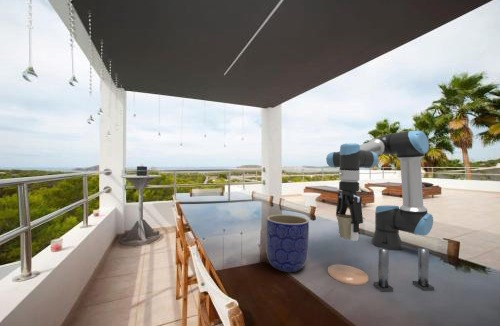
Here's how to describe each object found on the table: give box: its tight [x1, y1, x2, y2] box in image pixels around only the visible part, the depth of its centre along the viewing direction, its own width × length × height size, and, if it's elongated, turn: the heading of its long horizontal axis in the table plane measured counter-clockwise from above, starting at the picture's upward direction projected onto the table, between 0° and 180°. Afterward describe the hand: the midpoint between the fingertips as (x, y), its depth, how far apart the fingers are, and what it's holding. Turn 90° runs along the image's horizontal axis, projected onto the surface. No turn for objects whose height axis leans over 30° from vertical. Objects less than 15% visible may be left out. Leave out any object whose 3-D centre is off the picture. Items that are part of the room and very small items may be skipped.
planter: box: [265, 214, 310, 273], centre depth 95 cm, size 18×18×21 cm
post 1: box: [373, 247, 394, 293], centre depth 79 cm, size 4×4×14 cm
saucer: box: [327, 264, 369, 286], centre depth 88 cm, size 15×15×1 cm
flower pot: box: [335, 214, 352, 241], centre depth 89 cm, size 9×9×9 cm
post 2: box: [412, 246, 435, 292], centre depth 81 cm, size 4×4×14 cm
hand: (347, 236), depth 88 cm, fingers closed on flower pot, 8 cm apart
